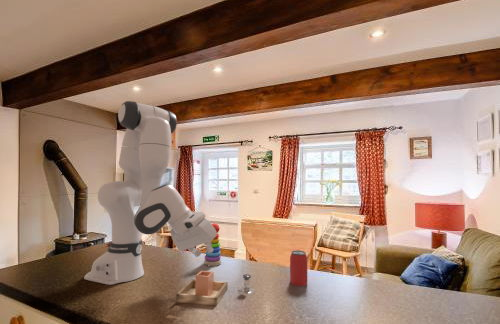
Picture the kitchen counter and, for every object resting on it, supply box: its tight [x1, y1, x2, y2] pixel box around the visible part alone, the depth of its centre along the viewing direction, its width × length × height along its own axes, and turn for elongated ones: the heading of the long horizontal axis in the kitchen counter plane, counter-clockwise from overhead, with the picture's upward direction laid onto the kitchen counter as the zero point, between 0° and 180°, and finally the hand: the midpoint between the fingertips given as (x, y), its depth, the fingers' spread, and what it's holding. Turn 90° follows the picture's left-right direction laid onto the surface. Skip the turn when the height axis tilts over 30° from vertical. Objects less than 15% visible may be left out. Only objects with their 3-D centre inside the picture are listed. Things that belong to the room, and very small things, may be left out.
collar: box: [195, 270, 215, 296], centre depth 90 cm, size 5×5×7 cm
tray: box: [175, 278, 229, 307], centre depth 90 cm, size 14×13×3 cm
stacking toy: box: [203, 222, 222, 267], centre depth 124 cm, size 8×8×19 cm
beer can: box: [289, 249, 308, 287], centre depth 101 cm, size 7×7×12 cm
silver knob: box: [237, 273, 257, 297], centre depth 93 cm, size 6×6×6 cm
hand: (205, 253), depth 97 cm, fingers open, 6 cm apart
